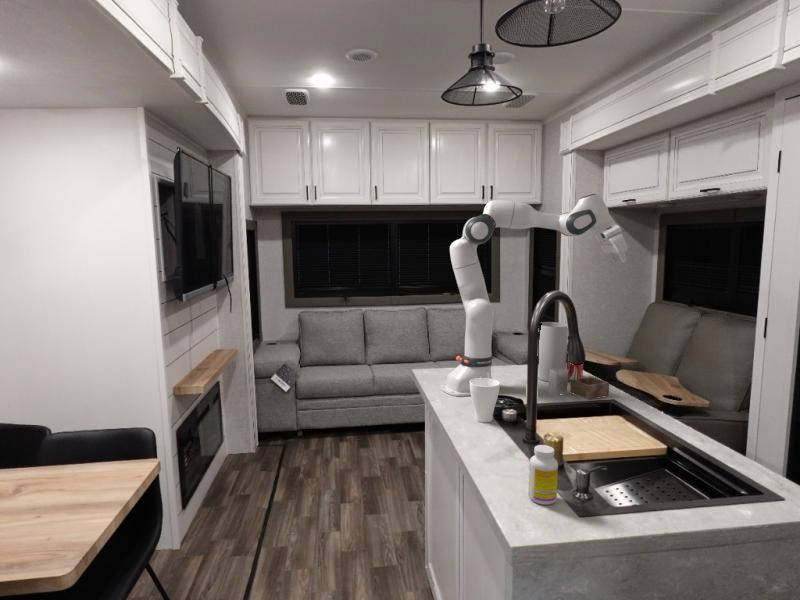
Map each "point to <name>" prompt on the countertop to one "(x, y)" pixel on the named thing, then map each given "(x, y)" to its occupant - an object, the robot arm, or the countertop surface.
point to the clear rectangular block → (558, 381)
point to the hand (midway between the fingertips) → (620, 261)
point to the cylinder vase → (552, 348)
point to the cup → (484, 397)
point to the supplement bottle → (543, 476)
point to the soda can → (574, 371)
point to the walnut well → (589, 387)
